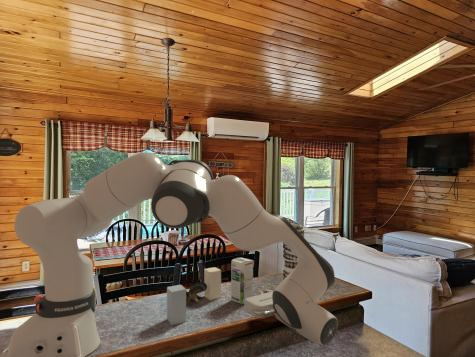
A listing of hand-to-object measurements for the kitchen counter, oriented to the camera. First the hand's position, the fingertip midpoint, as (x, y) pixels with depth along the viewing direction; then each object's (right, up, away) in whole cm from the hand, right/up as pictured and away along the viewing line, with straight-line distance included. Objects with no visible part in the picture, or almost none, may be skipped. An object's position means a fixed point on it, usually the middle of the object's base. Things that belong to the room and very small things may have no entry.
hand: (261, 292), depth 104 cm
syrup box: (-6, -7, +10) cm, 13 cm away
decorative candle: (+14, -6, +21) cm, 26 cm away
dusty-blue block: (-27, -7, -6) cm, 28 cm away
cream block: (-17, -6, +13) cm, 22 cm away
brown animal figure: (-23, -7, +8) cm, 26 cm away
